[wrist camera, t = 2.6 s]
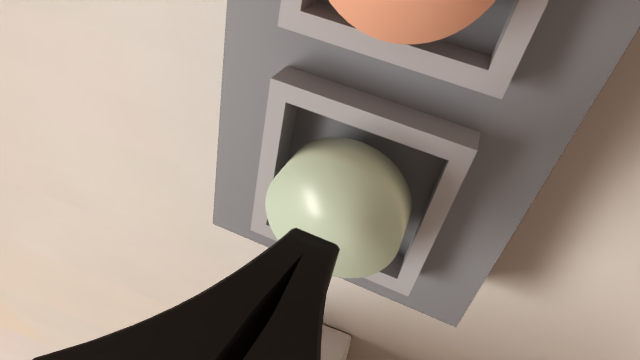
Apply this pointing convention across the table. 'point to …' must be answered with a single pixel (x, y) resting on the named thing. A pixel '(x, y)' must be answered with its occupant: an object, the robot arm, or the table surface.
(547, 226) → the table surface
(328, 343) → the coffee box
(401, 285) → the button panel
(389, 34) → the terracotta button
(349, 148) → the sage button
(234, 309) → the robot arm
